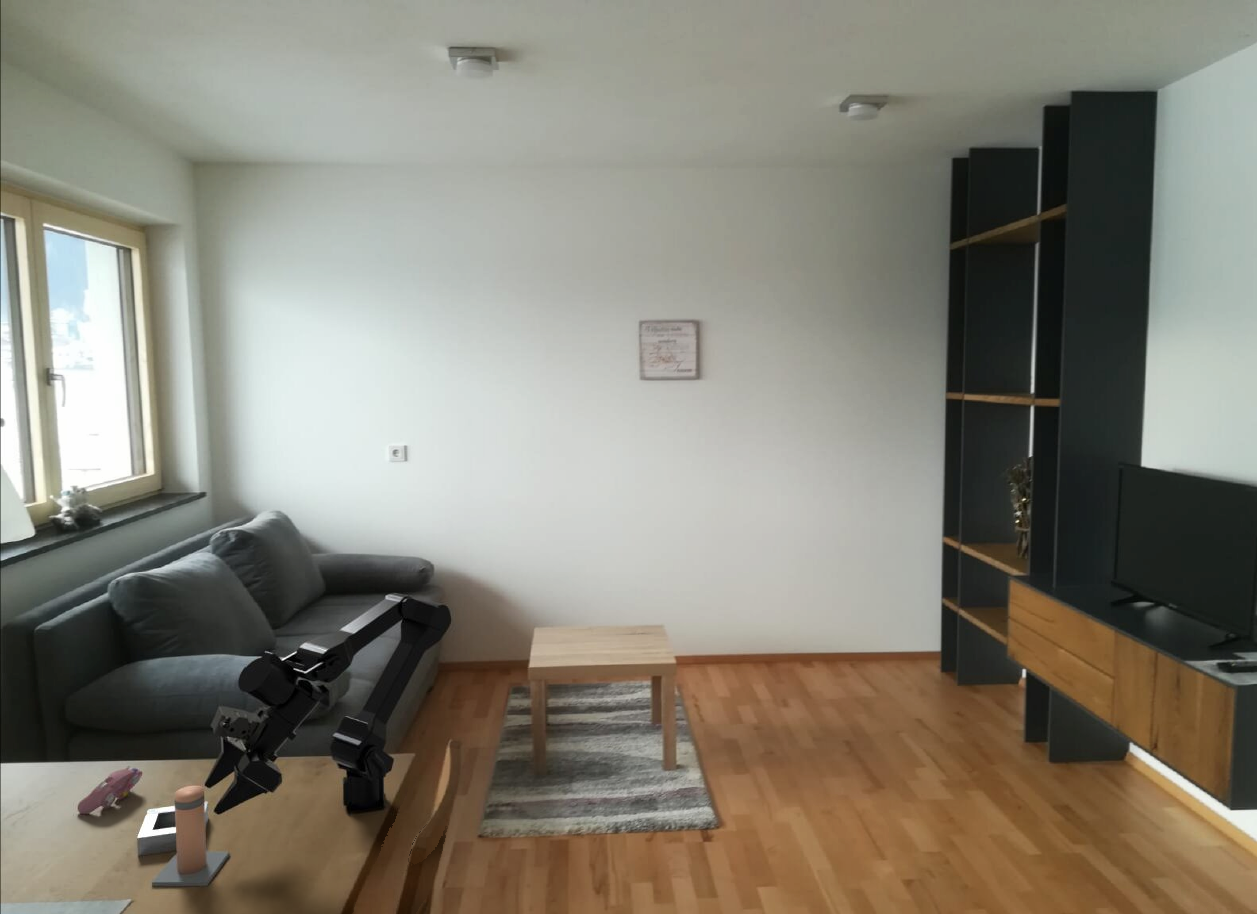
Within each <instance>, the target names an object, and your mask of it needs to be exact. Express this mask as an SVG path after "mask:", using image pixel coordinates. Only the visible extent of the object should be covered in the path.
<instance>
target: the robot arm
mask: <svg viewBox="0 0 1257 914" xmlns="http://www.w3.org/2000/svg"><path fill="white" fill-rule="evenodd" d="M399 622H400V640H399V642H398V643H397V646H396V647H395V650H394V652H393V653H392V655H391V657H390V658H389V660H388V662H387V664H386V665H385V667H384V669H383V672H382V673H381V675H380V677H379V678H378V680H377V682H376V683H375V685H374V688H373V690H372V691H371V693H370V694H369V696H368V698H367V700H366V702H365V704H364V706H363V707H362V710H361V711H360V712H358V713H357V714H356V715H355V716H353V717H351V716H348V715H347V716H344V717H343V718H342V719H341V721H340V724H339V727H338V728H337V730H336V731H335V733H334V734H333V735H332V736H331V738H333V740H332V741H331V744H330V748H329V750H330V753H331V754H330V757H331V758H332V760H333V762H335V764H336V765H337V768H338V769H339V770H344V771H345V772H346V773H345V775H346V776H344V777H342V800H343V801H342V804H343V806H344V807H345V808H346V809H345V810H346V811H345V812H346V814H348V815H349V814H355V813H364V812H370V811H377V810H384V809H385V808H386V801H385V799H386V798H385V778H386V776H387V773H390V772H391V771H392V769H393V766H394V761H395V758H394V757H392V756H391V755H390V754H388V753H387V752H385V751H384V749H385V746H386V743H387V724H388V722H389V719H390V718H391V716H392V714H393V713H394V710H395V708H396V707H397V705H398V703H399V701H400V700H401V697H402V695H403V693H404V692H405V689H406V688H407V685H408V683H409V682H410V680H411V678H412V677H413V675H414V673H415V671H416V669H417V667H418V666H419V663H420V661H421V659H422V658H423V656H424V654H425V653H426V651H428V650H429V649H431V648H432V647H433V646H435V645H437V644H438V643H439V642H441V640H442V638H443V637H444V635H445V634H446V633H447V631H448V629H450V626H451V624H452V615H451V612H450V608H449V607H448V606H447V605H446V604H442V603H437V602H434V601H429V600H424V599H415V598H413V597H412V596H410V595H405V594H402V593H396V592H392V593H389V594H387V595H385V597H384V598H383V600H382V601H379V602H378V603H377V604H376V605H374V606H372V607H370V608H369V609H368V610H367V611H365V612H364V613H362V614H360V616H358V617H356V618H354V620H352V621H350V623H348V624H347V625H345V626H343V627H341V629H339V630H337V631H334V632H332V633H327V634H322V635H319V636H317V637H314V638H312V639H309V640H307V641H306V642H304V643H302V644H301V645H300V646H299V647H298V648H297V650H295V651H294V652H293V653H291V654H289V655H287V656H285V657H284V658H281V657H280V656H278V655H277V654H275V653H274V652H269V651H267V650H265V651H264V652H263V653H262V655H261V657H258V658H255V659H254V660H252V661H251V662H250V663H248V664H247V665H246V666H244V667H243V669H242V670H241V672H240V673H239V677H238V682H237V685H238V688H239V690H240V691H241V692H243V693H244V694H246V695H248V696H250V697H252V698H253V699H255V700H257V702H260V703H262V704H263V705H265V706H267V707H265V706H263V705H262V706H261V707H258V708H257V709H256V710H255V711H254V712H249V711H247V710H244V709H239V708H233V707H228V706H224V705H220V706H218V708H217V710H216V713H215V715H214V718H213V720H212V722H211V724H210V728H212V730H213V735H215V736H216V737H220V741H221V750H220V752H219V755H218V757H217V758H216V761H215V762H214V764H213V766H212V769H211V770H210V773H209V774H208V776H207V778H206V779H205V782H204V786H205V788H207V789H211V788H213V787H215V786H216V785H217V784H219V783H220V782H222V781H223V780H224V779H225V778H227V777H228V776H229V775H231V774H233V773H234V779H233V780H232V782H231V784H230V785H229V786H228V787H227V789H226V790H225V793H223V795H222V796H221V798H220V800H219V801H218V802H217V804H216V806H215V807H214V809H213V813H215V814H216V815H218V816H219V815H222V814H224V813H226V812H228V811H230V810H231V809H233V808H235V807H237V806H239V805H241V804H243V803H245V802H247V801H248V800H252V799H254V798H255V797H258V796H260V795H262V794H268V793H272V794H273V793H275V791H277V789H278V788H279V787H280V786H281V784H282V783H283V774H282V772H281V770H280V768H279V766H278V764H276V763H274V762H275V761H277V759H279V756H278V755H277V752H278V751H279V750H280V748H281V747H282V746H283V745H284V744H285V743H286V741H287V740H288V739H289V740H291V741H293V740H294V739H295V738H296V737H297V736H298V735H297V732H296V729H298V728H299V726H300V725H301V724H302V723H303V721H304V720H306V718H307V717H308V715H309V714H310V713H311V712H312V711H313V709H315V708H316V706H317V705H318V704H319V703H320V704H321V705H322V706H324V707H326V708H329V706H330V705H331V702H330V691H331V690H330V689H329V688H328V687H327V686H326V685H325V684H319V685H315V684H313V683H314V682H317V681H318V682H322V683H326V684H329V683H332V682H334V681H336V680H337V679H338V678H339V677H341V675H342V674H344V672H346V670H347V669H349V668H350V667H351V665H352V662H353V659H354V658H355V655H357V653H359V652H360V651H361V650H362V649H364V648H365V647H367V646H369V645H370V643H372V642H374V641H375V640H376V639H377V638H379V637H381V636H382V635H383V634H384V633H386V632H388V631H389V630H390V629H392V628H393V627H394V626H396V625H397V624H399ZM299 678H300V679H299ZM312 682H313V683H312Z"/></svg>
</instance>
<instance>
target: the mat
mask: <svg viewBox="0 0 1257 914" xmlns="http://www.w3.org/2000/svg"><path fill="white" fill-rule="evenodd" d="M229 857H230V851H206V860H207V864H206V866H205V867H204V868H203V869H202V870H200V871H198V872H195V873H191V874H182V873H179V872H178V870H177V852H176V853H175V854H174V855H173V857H171V858H170V860H169V861H168V862H167V864H166V865H165V866H164V867H163V868H162V870H161V871H160V872H159V873H157V875H156V877H155V878H154V879H153V880H152V881H151V887H207V886H208V885H209V884H210V883H211V881H212V880H213V878H214V877H215V875H216V874H217V873H218V871H219V870H220V869H221V867H222V866H223V864H224V863H225V862H226V861H227V859H228V858H229Z"/></svg>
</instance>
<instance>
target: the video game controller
mask: <svg viewBox="0 0 1257 914" xmlns="http://www.w3.org/2000/svg"><path fill="white" fill-rule="evenodd" d="M142 777H143V771H141V770H140V769H138V768H136V767H132V766H131V765H128V766H127V767H126V768H123V769H118V770H115V771H113V772H112V773H110V774H109V775H108V776H107V777H106V778H105V779H104V780H103V781H101V782H100V783H99V784H98V785H97V786H95V788H94V789H93V790H92V791H91V792H90V793H89V794H88V795H87V796H85V797H83V799H82V800H80V801H79V802H78V804H77V811H78V812H79V814H81V813H82V814H81V815H87V814H90V813H92V812H94V811H95V810H97V809H99V808H100V807H102V808H104V809H105V810H106V809H107V810H108V808H110V807H111V806H112V805H113V803H114V802H115V801H116V799H118V800H119V801H120V800H123V799H124V798H125V797H126V796H128V794H129V792H130V790H131V789H132V788H134V787H135V786H136V785H137V784H138V783H139V781H140V779H142Z"/></svg>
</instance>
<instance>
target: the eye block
mask: <svg viewBox="0 0 1257 914" xmlns="http://www.w3.org/2000/svg"><path fill="white" fill-rule="evenodd" d="M204 803H205V831H207V825H208V821H209V801H204ZM136 842H137V843H136V845H137V857H140V856H141V857H142V856H148V855H154V854H155V855H156V854H160V853H168V852H174V851H176V852H177V847H176V822H175V805H172V806H171V805H170V806H165V807H158V808H149V809H147V812H146V815H145V816H144V819H143V822H142V825H141V827H140V830H139V833H138V835H137V838H136Z"/></svg>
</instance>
